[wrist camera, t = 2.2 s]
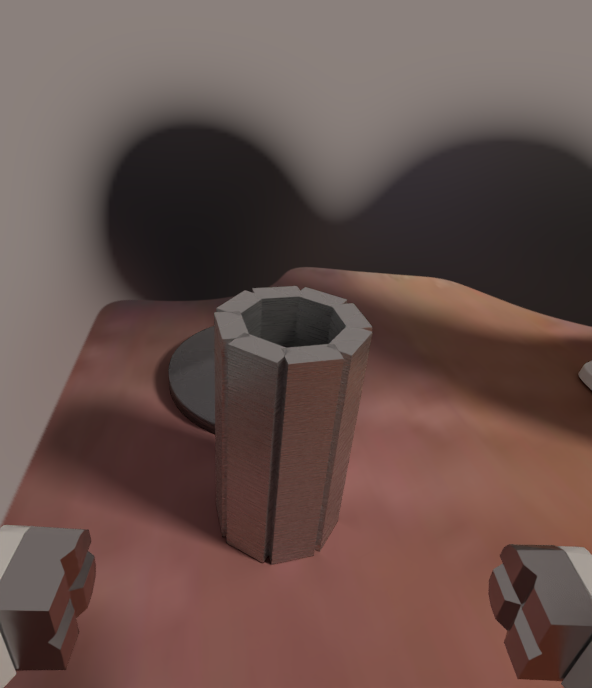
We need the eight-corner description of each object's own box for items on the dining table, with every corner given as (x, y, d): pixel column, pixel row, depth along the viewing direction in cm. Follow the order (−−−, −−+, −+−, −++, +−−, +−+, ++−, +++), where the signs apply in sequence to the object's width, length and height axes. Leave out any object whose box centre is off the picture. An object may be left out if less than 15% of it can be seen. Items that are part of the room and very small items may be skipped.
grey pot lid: (277, 316, 46) (281, 264, 44) (395, 392, 38) (408, 332, 35) (135, 365, 38) (128, 304, 35) (244, 476, 29) (246, 407, 27)
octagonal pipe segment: (314, 459, 31) (337, 283, 25) (351, 547, 26) (393, 353, 20) (210, 475, 29) (207, 290, 23) (229, 573, 24) (231, 369, 18)
